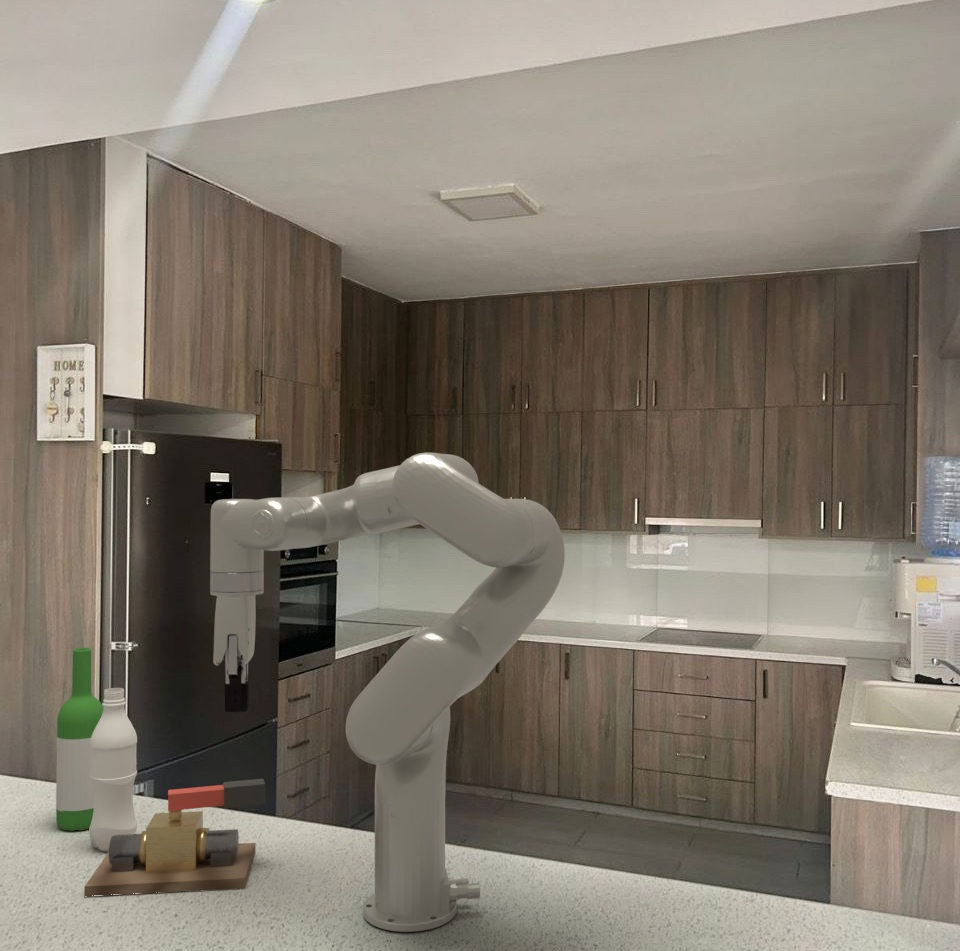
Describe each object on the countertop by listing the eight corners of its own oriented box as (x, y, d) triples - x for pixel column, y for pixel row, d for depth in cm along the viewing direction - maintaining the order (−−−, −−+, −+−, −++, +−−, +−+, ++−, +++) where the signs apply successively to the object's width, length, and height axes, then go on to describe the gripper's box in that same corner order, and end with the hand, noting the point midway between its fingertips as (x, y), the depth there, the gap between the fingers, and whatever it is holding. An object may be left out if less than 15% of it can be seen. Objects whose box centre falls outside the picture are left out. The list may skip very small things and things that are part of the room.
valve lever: (168, 814, 143) (168, 787, 143) (263, 805, 148) (263, 778, 148) (168, 821, 140) (168, 793, 140) (265, 811, 145) (265, 784, 145)
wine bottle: (89, 834, 159) (90, 653, 159) (46, 831, 160) (47, 652, 161) (114, 818, 166) (115, 645, 167) (73, 816, 168) (74, 644, 168)
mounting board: (255, 852, 150) (255, 842, 150) (245, 888, 136) (245, 878, 136) (110, 859, 147) (110, 849, 147) (84, 897, 134) (84, 886, 134)
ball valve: (239, 852, 146) (239, 809, 146) (234, 868, 140) (234, 823, 140) (117, 858, 144) (117, 815, 144) (106, 875, 138) (106, 829, 138)
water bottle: (144, 838, 156) (145, 685, 157) (124, 854, 149) (124, 694, 150) (102, 837, 157) (103, 684, 158) (80, 853, 150) (81, 693, 151)
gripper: (218, 579, 146) (217, 700, 145) (202, 589, 131) (201, 723, 130) (268, 579, 147) (268, 699, 146) (258, 588, 132) (257, 721, 131)
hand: (236, 710), depth 138 cm, fingers closed
